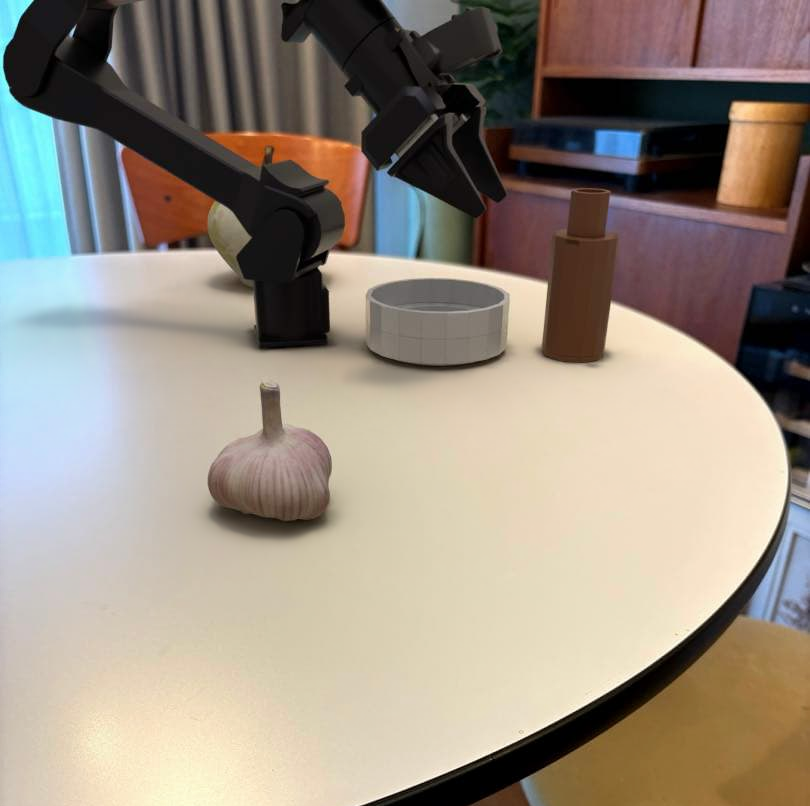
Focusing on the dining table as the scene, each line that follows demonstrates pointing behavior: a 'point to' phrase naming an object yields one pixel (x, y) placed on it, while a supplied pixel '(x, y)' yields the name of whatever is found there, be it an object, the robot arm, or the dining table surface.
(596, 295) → the bottle
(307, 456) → the garlic bulb
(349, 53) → the robot arm
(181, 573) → the dining table surface
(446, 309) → the dish
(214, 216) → the sugar bowl
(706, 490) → the dining table surface
